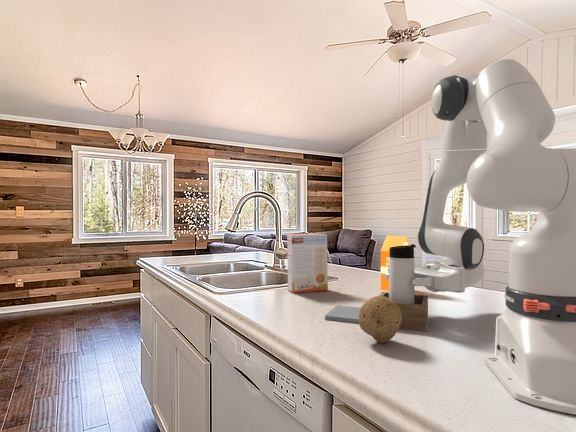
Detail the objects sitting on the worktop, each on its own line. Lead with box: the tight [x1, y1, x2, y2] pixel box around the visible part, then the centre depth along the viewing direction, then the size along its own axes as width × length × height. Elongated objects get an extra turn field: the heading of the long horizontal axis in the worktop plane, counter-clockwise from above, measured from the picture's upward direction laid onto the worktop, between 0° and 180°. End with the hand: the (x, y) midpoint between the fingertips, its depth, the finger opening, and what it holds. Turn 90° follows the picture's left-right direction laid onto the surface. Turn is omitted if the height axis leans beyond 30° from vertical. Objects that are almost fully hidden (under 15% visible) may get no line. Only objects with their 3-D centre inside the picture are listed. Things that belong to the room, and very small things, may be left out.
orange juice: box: [380, 235, 411, 291], centre depth 133 cm, size 8×9×20 cm
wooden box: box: [378, 291, 429, 332], centre depth 92 cm, size 12×12×6 cm
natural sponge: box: [358, 295, 402, 344], centre depth 76 cm, size 9×9×10 cm
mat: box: [324, 305, 361, 324], centre depth 97 cm, size 12×11×1 cm
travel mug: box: [388, 243, 417, 304], centre depth 92 cm, size 6×7×20 cm
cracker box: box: [286, 233, 329, 294], centre depth 131 cm, size 14×6×21 cm, turn 108°
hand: (399, 279), depth 91 cm, fingers open, 8 cm apart
